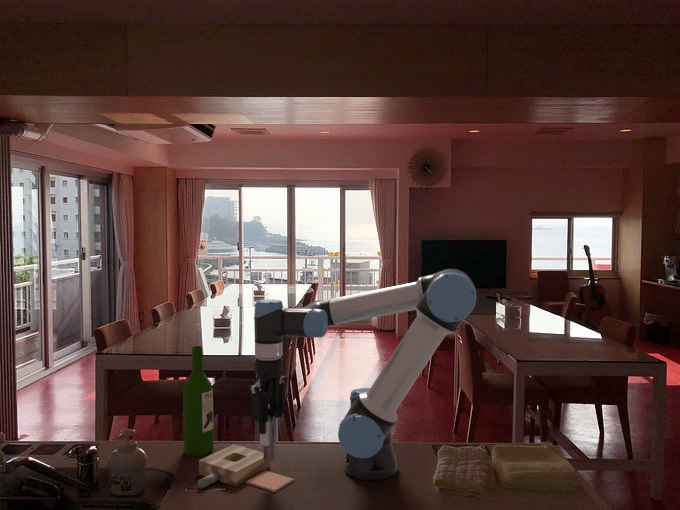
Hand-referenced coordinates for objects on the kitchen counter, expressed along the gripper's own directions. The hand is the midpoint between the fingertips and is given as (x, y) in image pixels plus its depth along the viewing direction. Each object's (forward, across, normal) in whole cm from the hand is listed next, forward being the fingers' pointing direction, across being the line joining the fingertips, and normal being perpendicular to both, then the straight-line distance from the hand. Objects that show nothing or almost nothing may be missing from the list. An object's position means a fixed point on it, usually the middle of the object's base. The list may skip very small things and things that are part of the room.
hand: (269, 442), depth 155 cm
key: (+5, 0, 0) cm, 5 cm away
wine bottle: (+11, -5, -33) cm, 35 cm away
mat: (+11, 0, 0) cm, 11 cm away
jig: (+11, +3, -13) cm, 17 cm away
